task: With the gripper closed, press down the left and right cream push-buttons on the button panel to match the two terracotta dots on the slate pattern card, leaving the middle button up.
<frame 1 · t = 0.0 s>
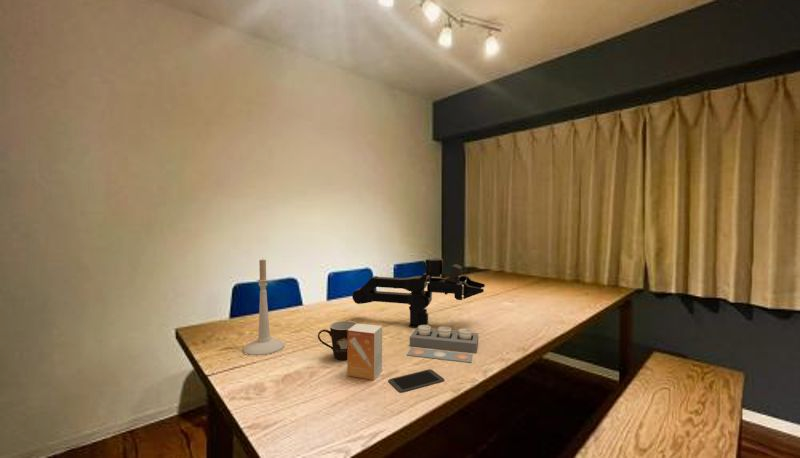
hand: (484, 287, 132), 17 cm above the table, tool horizontal, fingers open, 9 cm apart
pattern card: (439, 355, 110), on the table
candlestick: (264, 348, 116), on the table
left button: (424, 331, 121), point 4 cm above the table, slide at 0.0 cm
coffee mug: (340, 356, 110), on the table
cell phone: (416, 383, 93), on the table
small box: (365, 374, 98), on the table
right button: (465, 335, 118), point 4 cm above the table, slide at 0.0 cm
middle button: (444, 333, 120), point 4 cm above the table, slide at 0.0 cm
button panel: (444, 343, 120), on the table
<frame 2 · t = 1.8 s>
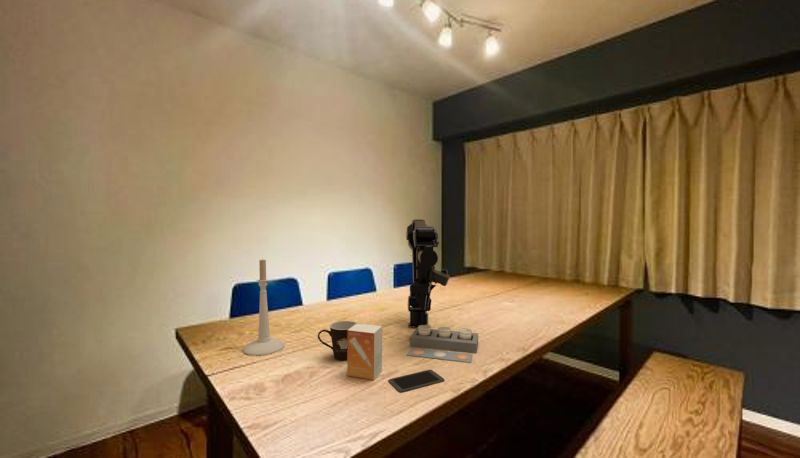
hand: (424, 307, 121), 12 cm above the table, tool pointing down, fingers open, 5 cm apart
nothing on the table moved.
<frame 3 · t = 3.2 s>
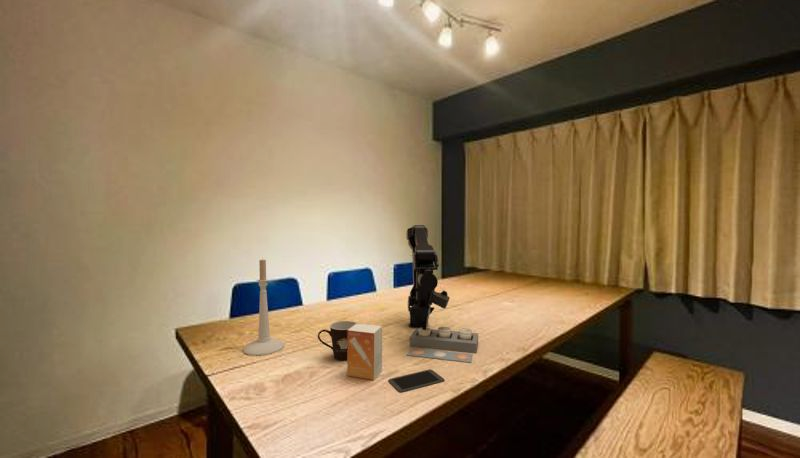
hand: (424, 329, 121), 4 cm above the table, tool pointing down, fingers closed, pressing on left button
left button: (424, 334, 121), point 3 cm above the table, slide at 0.9 cm, touching gripper
everything else where it was.
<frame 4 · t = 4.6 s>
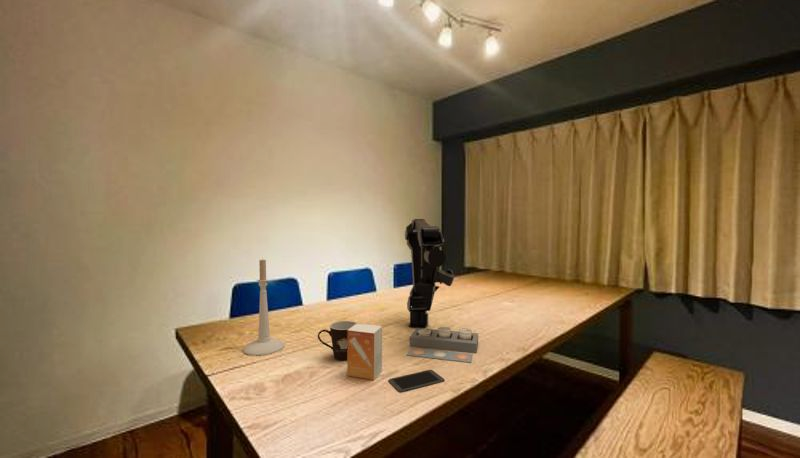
hand: (429, 307, 120), 12 cm above the table, tool pointing down, fingers closed
left button: (424, 335, 122), point 2 cm above the table, slide at 1.4 cm
everything else where it was.
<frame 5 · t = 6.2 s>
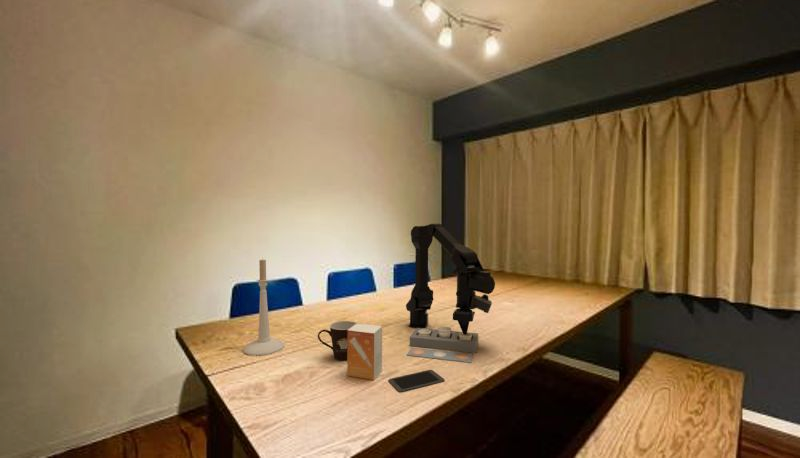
hand: (465, 334, 118), 4 cm above the table, tool pointing down, fingers closed, pressing on right button
right button: (465, 339, 118), point 2 cm above the table, slide at 1.3 cm, touching gripper
everything else where it was.
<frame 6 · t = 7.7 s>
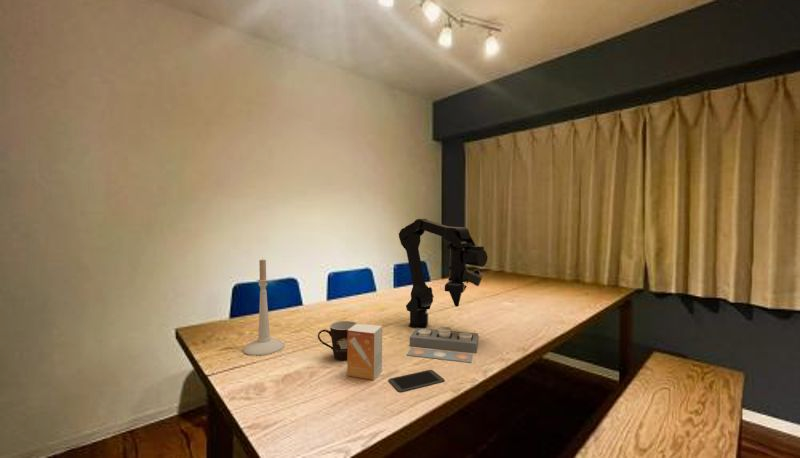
hand: (456, 306, 125), 12 cm above the table, tool pointing down, fingers closed
right button: (465, 339, 118), point 2 cm above the table, slide at 1.4 cm
everything else where it was.
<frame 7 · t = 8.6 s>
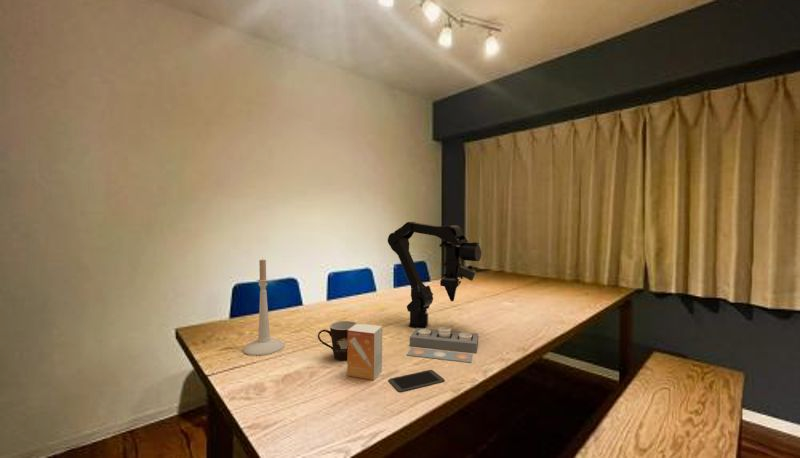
hand: (452, 300, 130), 12 cm above the table, tool pointing down, fingers closed
nothing on the table moved.
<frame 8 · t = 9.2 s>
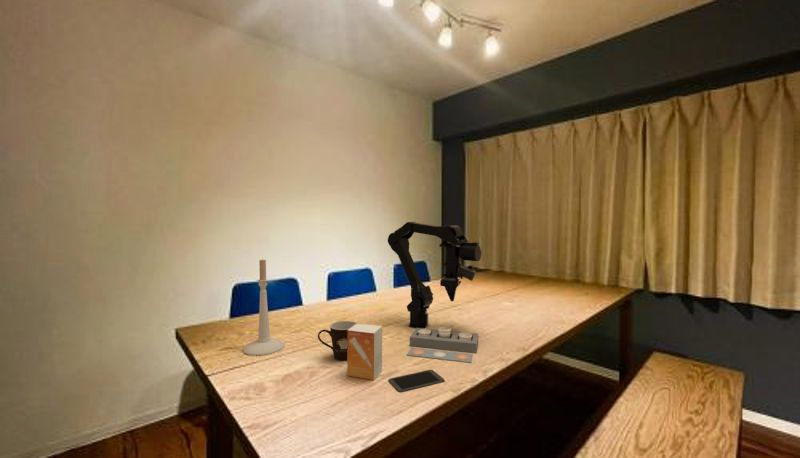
hand: (452, 300, 130), 12 cm above the table, tool pointing down, fingers closed
nothing on the table moved.
at the end: left button slide at 1.4 cm; right button slide at 1.4 cm; middle button slide at 0.0 cm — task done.
